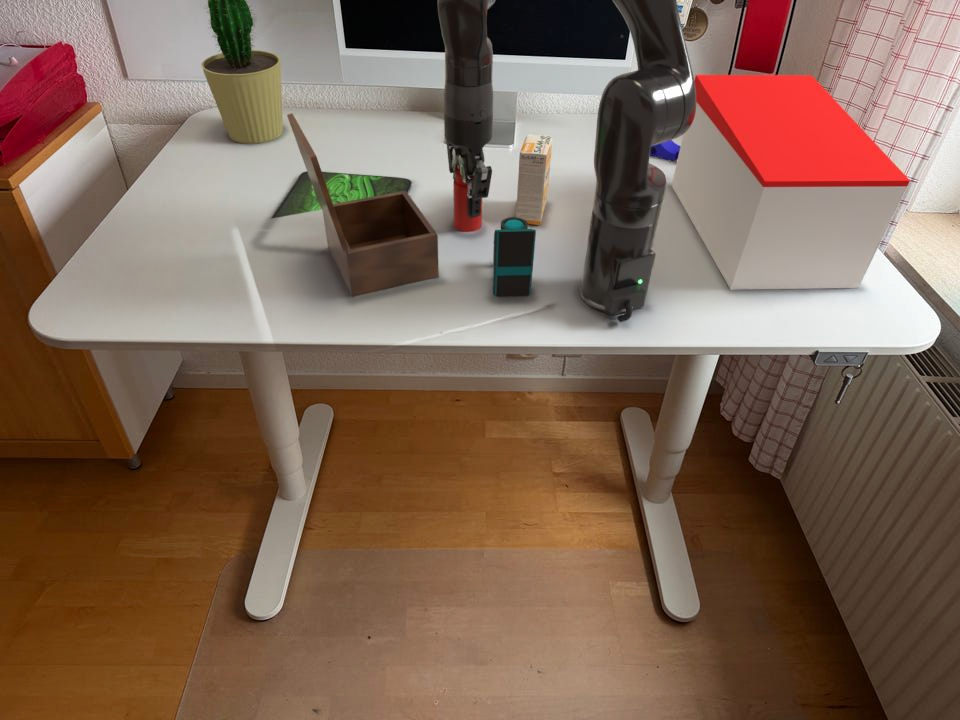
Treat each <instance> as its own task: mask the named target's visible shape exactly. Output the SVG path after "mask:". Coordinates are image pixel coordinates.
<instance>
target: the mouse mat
mask: <svg viewBox="0 0 960 720" xmlns="http://www.w3.org/2000/svg"><path fill="white" fill-rule="evenodd" d="M322 174H323V177H324V180H325V183H326V186H327V188H328V191H329V194H330V197H331V200H332V203H333V204H335V203H340V202H346V201H351V200H357V199H362V198H368V197H374V196H379V195H385V194H390V193H396V192H401V191H406V192H407V193H408V194H409V191H410V188H411V186H412V184H413V182H412V180H411V179H409V178H405V177H397V176H385V175H384V176H383V175H371V174H358V173H346V172H345V173H343V172H331V171H322ZM315 211H322V209H321V207H320V205H319V202H318V200H317V197H316V194H315V191H314V189H313V186H312V183H311V180H310V178H309V175H308V172H307V170H306V171H303V172H301V173H300V174H299V176H298V178H297V179H296V181H295V183H294V184H293V186H292V187H291V189H290V190H289V191H288V193H287V194H286V196H285V197H284V198H283V200H282V202H281V203H280V204H279V206H278V207H277V209H276V210H275V212H274V213H273V215H272V216H271V218H270V219H277V218H284V217H288V216H294V215H299V214H305V213H310V212H315Z"/></svg>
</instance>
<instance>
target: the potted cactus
mask: <svg viewBox="0 0 960 720" xmlns="http://www.w3.org/2000/svg"><path fill="white" fill-rule="evenodd" d="M248 4H250V1H247V0H207V5H205V7H203V10H204V9H206V8H208V11H206V13H208V14H209V23H210V27H208V29H211V30H212V32H213V35H212V38H214V41H212V42H213V43H214V42H215V40H216V48H219V49H220V50H218V51H217V54H214V55H211V56H208V57H206V59H204V60H203V61H202V63H201V69H202V70H203V74H204V76H205V79H206V82H207V84H208V87H209V89H210V91H211V94H212V97H213V99H214V101H215V105H216V107H217V109H218V112H219V114H220V117H221V119H222V122H223V125H224V127H225V130H226V132H227V135H228V136H229V138H230V139H231V140H232V141H234V142H235V143H240V144H248V145H251V144H252V145H253V144H261V143H262V144H263V143H267V142H271V141H273V140H276V139H278V138H279V137H281V135H283V130H284V126H283V124H284V123H283V96H282V95H283V94H282V93H283V92H282V67H281V62H282V59H281V57H280V56H279V55H278V54H276V53H274V52H270V51H266V50H259V49H254V48H255V45H253V42H254V37H255V35H257V33H255V32H254V29H253V27H254V28H255V29H256V28H257V26H256V25H255V23H257V21H258V20H257V17H254V16H255V15H256V16H257V14H256V13H254V11H253V12H252V9H250V8H251V7H252V5H248ZM252 15H253V16H252ZM253 33H254V34H253ZM220 51H221V52H220ZM219 52H220V53H219Z"/></svg>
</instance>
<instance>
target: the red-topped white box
mask: <svg viewBox="0 0 960 720" xmlns="http://www.w3.org/2000/svg"><path fill="white" fill-rule="evenodd" d="M694 82H695V88H696V100H697V104H696V113H695V117H694V120H693V122H692V124H691V126H690V128H689V129H688V130H687V132H686V133H684V134H683V135H682V138H681V144H680V146H681V147H680V151H679V156H678V159H677V160H676V165H675V169H674V174H673V178H672V182H671V187H672V189H673V191H674V193H675V195H676V196H677V199H678V200H679V201H680V203H681V205H682V207H683V209H684V211H685V212H686V215H688V217H689V219H690V221H691V222H692V224H693V226H694V228H695V230H696V231H697V233H698V235H699V237H700V239H701V240H702V242H703V244H704V246H705V247H706V249H707V251H708V252H709V254H710V256H711V258H712V260H713V262H714V263H715V265H716V266H717V268H718V270H719V272H720V274H721V275H722V277H723V279H724V281H725V282H726V284H727V286H728V288H729V290H730V291H731V290H732V291H734V290H735V291H737V290H738V291H741V290H743V291H744V290H807V289H808V290H810V289H817V290H818V289H859V288H860V285H861V284H862V282H863V280H864V278H865V275H866V273H867V271H868V269H869V267H870V265H871V264H872V263H871V262H872V260H873V258H874V256H875V254H876V253H877V250H878V249H879V247H880V245H881V242H882V240H883V238H884V236H885V234H886V232H887V230H888V228H889V226H890V224H891V221H892V220H893V217H894V215H895V213H896V211H897V209H898V207H899V205H900V203H901V201H902V198H903V197H904V194H905V192H906V190H907V189H908V187H909V185H910V182H911V180H910V179H909V178H908V176H907V175H906V174H905V173H904V172H903V171H902V170H901V169H900V168H899V167H898V166H897V165H896V164H895V162H894V161H892V159H890V157H889V156H888V155H887V154H886V153H885V152H884V151H883V150H882V149H881V148H880V146H879V145H878V144H877V143H876V142H874V140H873V139H872V138H871V137H870V136H869V134H868V133H866V132H865V130H863V128H862V127H861V126H860V125H859V124H858V123H857V122H856V121H855V120H854V119H853V118H852V117H851V116H850V114H849V113H848V112H847V111H846V110H845V109H844V108H843V107H842V106H841V105H840V104H839V103H838V102H837V101H836V100H835V98H834V97H833V96H832V95H831V94H830V93H829V92H828V91H827V90H826V89H825V88H824V86H822V84H820V82H819V81H818V80H817V79H816V78H815V77H814V76H813V75H812V74H695V76H694Z"/></svg>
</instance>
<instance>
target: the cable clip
mask: <svg viewBox="0 0 960 720" xmlns="http://www.w3.org/2000/svg"><path fill="white" fill-rule="evenodd" d="M680 147H681V145H679V144H677V143H676V142H674V140H673V139H672V140H669V141H666V142H663V143H660V144H657V145H654V146H651V151H650V156H651V157H652V156H653V157H655V158H656V157H657V158H660V159H663V160H668V161H671V162H674V161H675V160H676V159H677V160H678V156H679V151H680Z"/></svg>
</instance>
